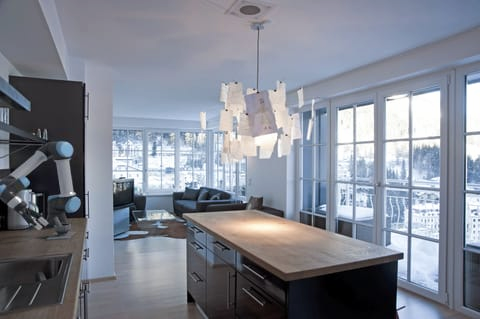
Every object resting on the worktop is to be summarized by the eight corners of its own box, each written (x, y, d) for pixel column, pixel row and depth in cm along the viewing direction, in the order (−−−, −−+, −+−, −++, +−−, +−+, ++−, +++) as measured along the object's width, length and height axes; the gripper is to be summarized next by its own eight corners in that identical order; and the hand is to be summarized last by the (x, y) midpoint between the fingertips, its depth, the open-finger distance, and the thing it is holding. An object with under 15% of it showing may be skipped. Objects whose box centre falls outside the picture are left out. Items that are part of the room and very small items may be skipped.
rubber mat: (54, 233, 227) (54, 232, 227) (75, 232, 231) (75, 231, 231) (45, 240, 208) (45, 239, 208) (68, 238, 211) (68, 238, 211)
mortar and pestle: (73, 233, 224) (73, 215, 224) (65, 236, 214) (65, 218, 214) (58, 233, 225) (58, 215, 225) (48, 236, 215) (48, 218, 215)
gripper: (20, 206, 224) (45, 227, 228) (4, 212, 200) (32, 235, 204) (29, 198, 225) (53, 219, 229) (14, 202, 201) (42, 226, 205)
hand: (44, 226), depth 217 cm, fingers open, 13 cm apart
